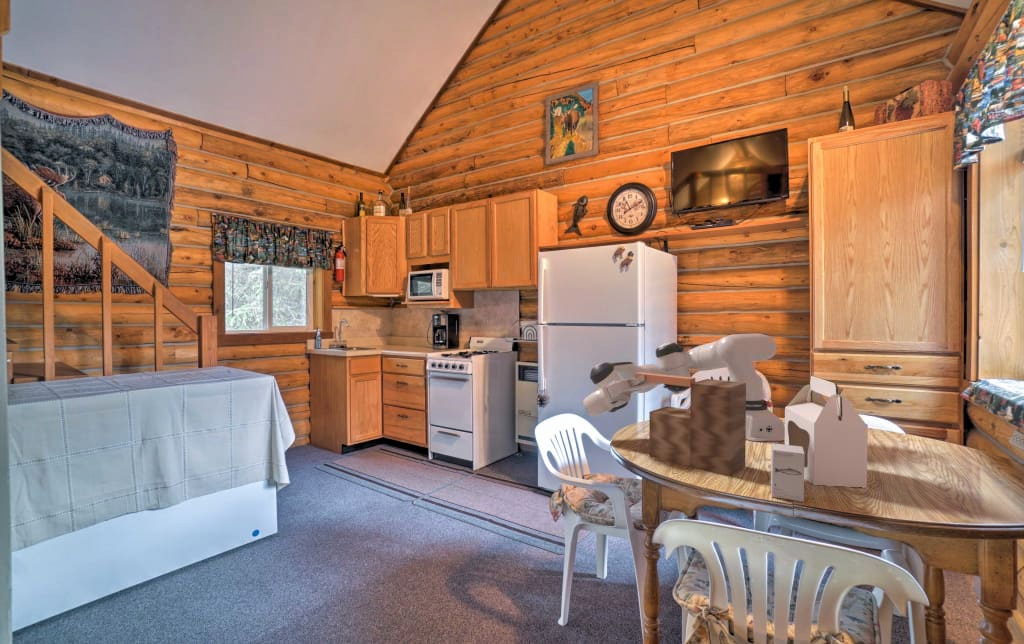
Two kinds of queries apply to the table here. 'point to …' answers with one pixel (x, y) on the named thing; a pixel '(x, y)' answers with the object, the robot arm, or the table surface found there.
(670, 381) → the bar
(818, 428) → the gable box
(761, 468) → the table surface
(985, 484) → the table surface
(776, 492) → the supplement box
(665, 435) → the stepped stand
